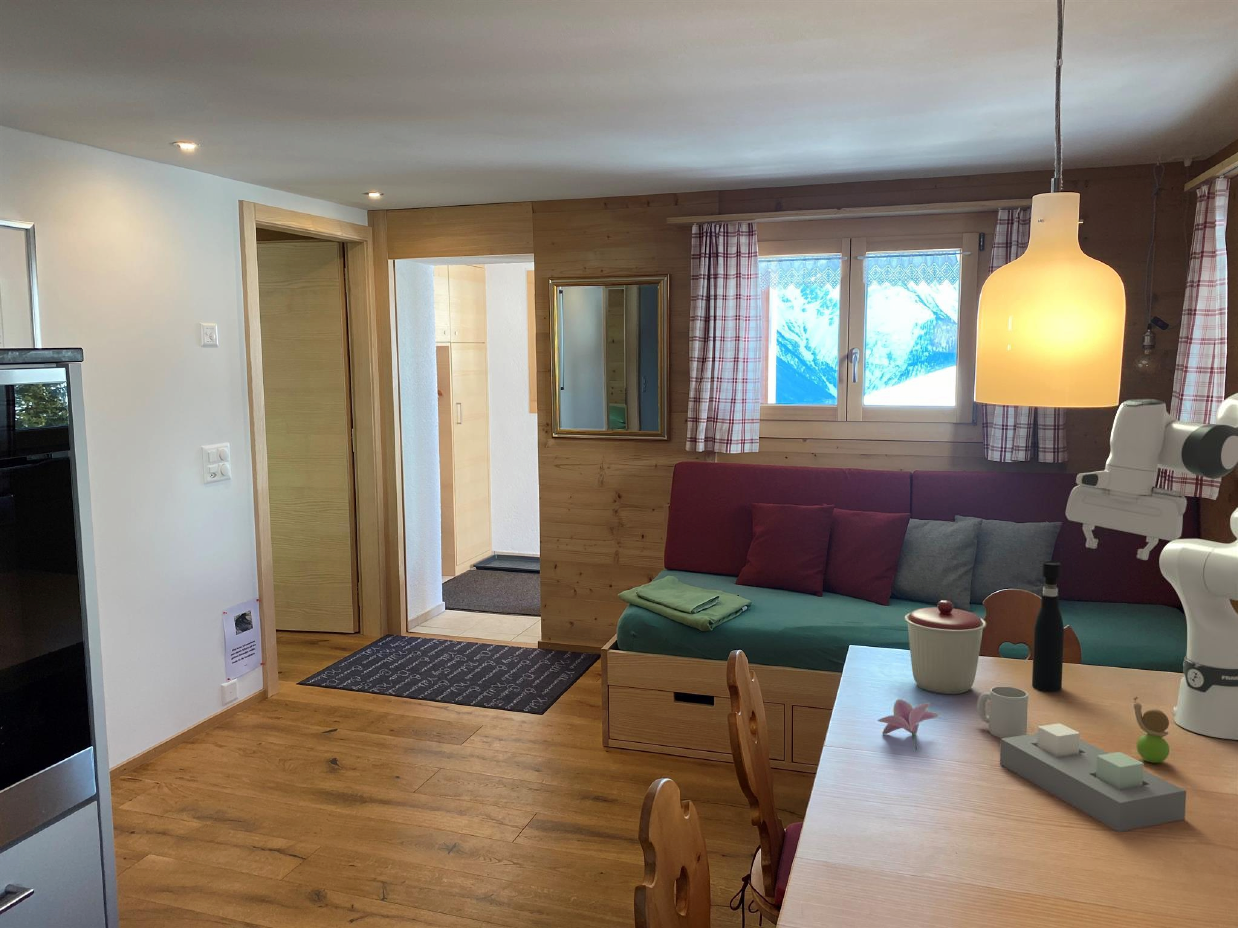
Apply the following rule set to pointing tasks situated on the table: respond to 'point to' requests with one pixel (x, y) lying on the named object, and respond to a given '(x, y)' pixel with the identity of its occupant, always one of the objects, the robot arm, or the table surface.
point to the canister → (944, 647)
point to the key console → (1094, 785)
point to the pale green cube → (1119, 770)
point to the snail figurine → (1152, 734)
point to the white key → (1058, 740)
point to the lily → (907, 717)
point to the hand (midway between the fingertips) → (1116, 553)
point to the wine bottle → (1048, 635)
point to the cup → (1005, 711)
